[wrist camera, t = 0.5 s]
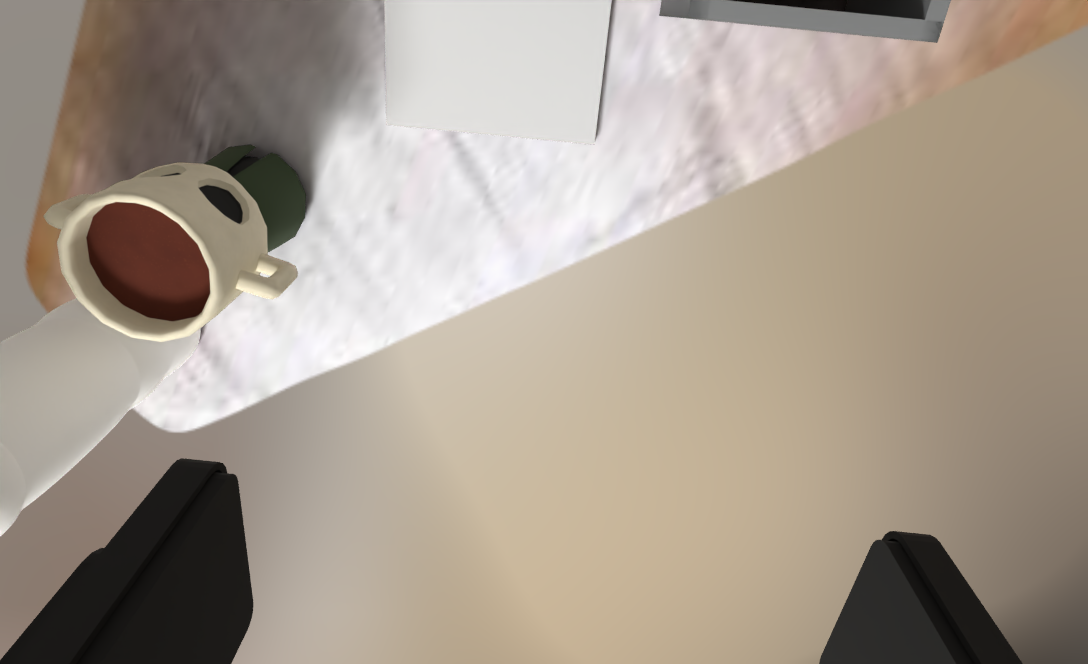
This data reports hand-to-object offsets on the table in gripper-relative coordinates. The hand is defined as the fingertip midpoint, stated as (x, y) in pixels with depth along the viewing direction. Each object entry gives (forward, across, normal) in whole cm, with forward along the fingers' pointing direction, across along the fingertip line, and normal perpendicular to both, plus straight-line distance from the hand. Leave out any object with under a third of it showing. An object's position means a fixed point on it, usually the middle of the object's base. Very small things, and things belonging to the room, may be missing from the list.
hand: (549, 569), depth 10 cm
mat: (+33, +4, -6) cm, 34 cm away
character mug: (+33, +18, +6) cm, 38 cm away
